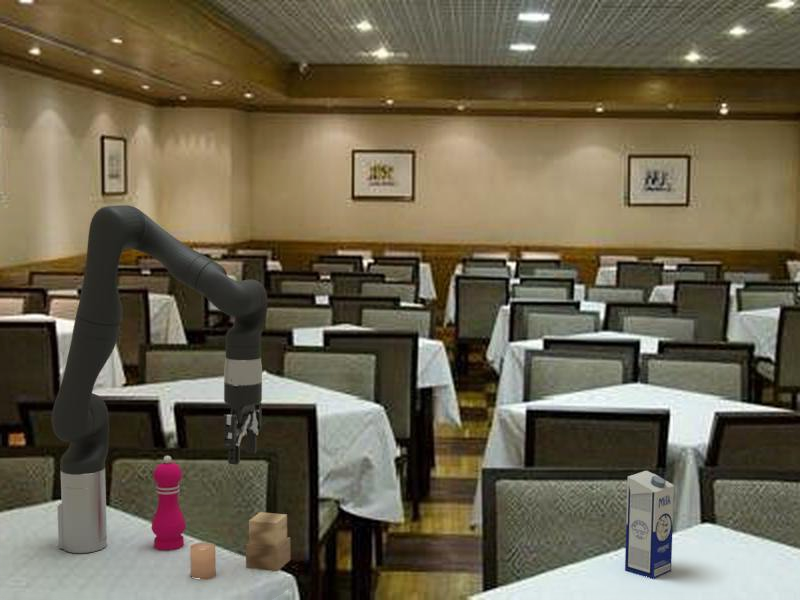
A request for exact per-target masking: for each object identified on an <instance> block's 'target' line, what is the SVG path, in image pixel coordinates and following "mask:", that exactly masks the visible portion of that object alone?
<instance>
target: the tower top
mask: <svg viewBox="0 0 800 600" xmlns="http://www.w3.org/2000/svg"><path fill="white" fill-rule="evenodd" d="M287 537H288V514H286V513H285V514H284V513H275V512H274V513H273V512H264V511H263V512H262V511H259V512H258V513H257V514H256V515H254V516H253V517H252V518H251V519H249V520H248V543H249V544H252V545H262V546H272V547H277V546H278V545H279V544H280V543H282V542H283V541H284V540H285V539H286V538H287Z"/></svg>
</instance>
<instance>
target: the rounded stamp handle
mask: <svg viewBox="0 0 800 600" xmlns="http://www.w3.org/2000/svg"><path fill="white" fill-rule="evenodd" d="M189 549H190V551H189V553H190V555H189V557H190V577H191V576H192V577H194V578H200V579H205V580H211V579H213V578H215V577H216V575H217V568H216V567H217V566H216V564H217V561H216V560H217V559H216V555H217V554H216V544H215V543H213V542H204V541H203V542H196V543H193V544H191V545H190V547H189ZM192 577H191V578H192ZM194 578H193V579H194Z"/></svg>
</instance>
